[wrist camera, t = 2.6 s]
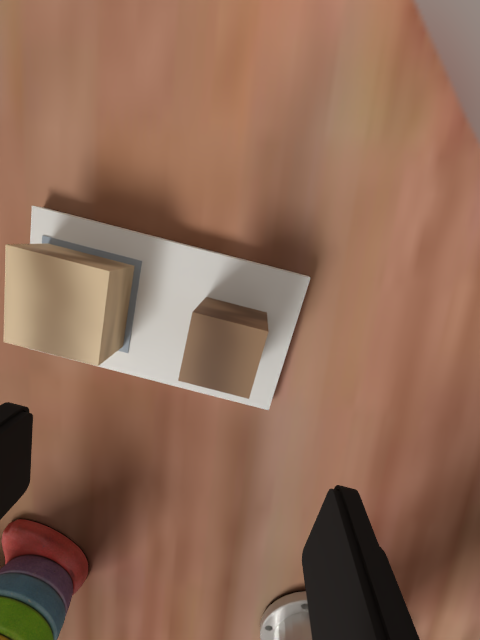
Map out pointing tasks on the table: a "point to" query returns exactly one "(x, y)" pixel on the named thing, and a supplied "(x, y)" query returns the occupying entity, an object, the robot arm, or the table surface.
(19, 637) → the stacking bear
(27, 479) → the robot arm
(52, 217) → the board
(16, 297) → the oak base block
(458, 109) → the table surface
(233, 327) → the walnut cube
